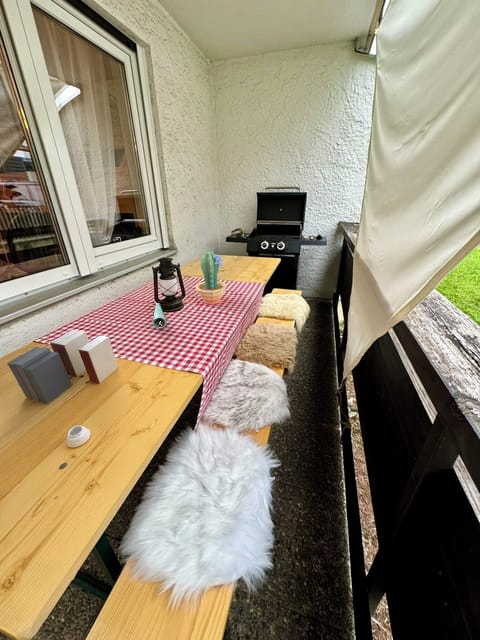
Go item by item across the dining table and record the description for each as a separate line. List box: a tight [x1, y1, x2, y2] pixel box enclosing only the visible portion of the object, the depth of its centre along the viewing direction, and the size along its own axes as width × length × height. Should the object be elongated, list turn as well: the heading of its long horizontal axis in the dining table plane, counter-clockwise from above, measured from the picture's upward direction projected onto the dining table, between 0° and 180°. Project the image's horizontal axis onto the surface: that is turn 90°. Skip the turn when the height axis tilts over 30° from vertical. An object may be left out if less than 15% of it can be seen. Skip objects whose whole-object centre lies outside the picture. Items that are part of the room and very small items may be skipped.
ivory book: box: [79, 335, 119, 385], centre depth 80 cm, size 3×8×12 cm, turn 162°
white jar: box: [65, 424, 92, 448], centre depth 61 cm, size 5×3×5 cm
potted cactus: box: [195, 250, 227, 305], centre depth 126 cm, size 15×15×25 cm
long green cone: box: [152, 302, 167, 330], centre depth 118 cm, size 5×6×27 cm
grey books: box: [7, 346, 73, 405], centre depth 73 cm, size 8×8×13 cm
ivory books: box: [49, 329, 90, 378], centre depth 83 cm, size 6×8×12 cm, turn 162°
